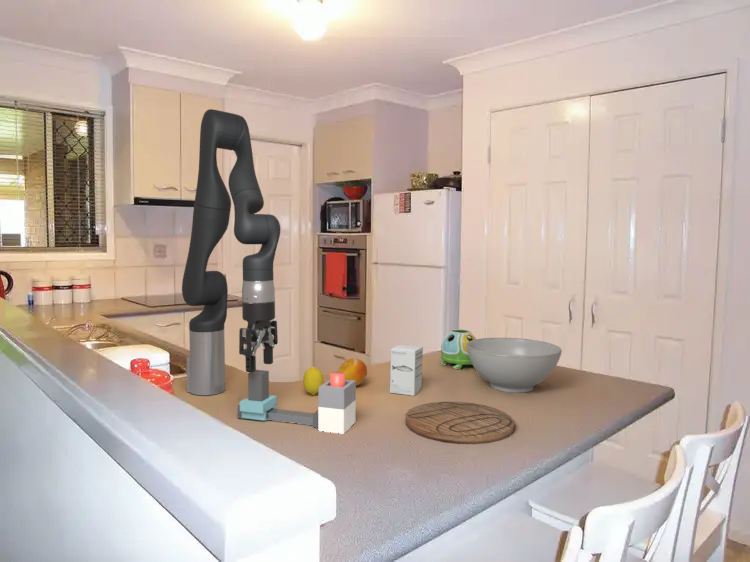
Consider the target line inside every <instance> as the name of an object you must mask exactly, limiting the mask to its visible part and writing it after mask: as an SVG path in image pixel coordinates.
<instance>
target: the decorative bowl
mask: <svg viewBox="0 0 750 562" xmlns="http://www.w3.org/2000/svg"><path fill="white" fill-rule="evenodd" d="M466 348H467V352H468V355H469V358H470V360H471V362H472V364H473V365H472V366H473V368H474V369H475V371H476V372H477V373H478V374H479V376H480V377H482V378H483V379H484V380H486V381H487V382H488V383H489V386H490V387H491V388H492V389H494V390H496V391H500V392H506V393H512V394H515V393H516V394H517V393H519V394H522V393H529V392H532V391H533V390H534V387H535V386H537V385H539V384H541V383H542V382H544V381H546V379H547V378H548V377H549V376H550V375H552V373H553V372H554V370H555V369H556V368H557V365H558V363H559V361H560V358H561V356H562V352H563V350H562V348H561V347H560V346H558V345H556V344H553V343H550V342H545V341H541V340H538V339H528V338H517V337H486V338H476V340H472V341H469V342H468V343H467V344H466Z"/></svg>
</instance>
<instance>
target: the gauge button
mask: <svg viewBox="0 0 750 562" xmlns="http://www.w3.org/2000/svg"><path fill="white" fill-rule="evenodd" d="M329 380H330V386H338V387H344V386H345V373H343V372H338V371H333V372H330V373H329Z"/></svg>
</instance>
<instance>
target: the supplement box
mask: <svg viewBox="0 0 750 562" xmlns="http://www.w3.org/2000/svg"><path fill="white" fill-rule="evenodd" d="M423 353H424V346H417V345H410V344H409V345H408V344H397V345H395V346H393V347H392V348H391V349H390V374H389V375H390V376H389V377H390V378H389V379H390V381H389V393H390V394H397V395H405V396H412V397H415V396H416V395H417V394H418V393H420V391H422V386H423V385H422V382H423V379H422V378H423V357H424V356H423Z"/></svg>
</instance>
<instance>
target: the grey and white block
mask: <svg viewBox="0 0 750 562" xmlns="http://www.w3.org/2000/svg"><path fill="white" fill-rule="evenodd" d="M356 390H357V386H356V381H355V380H345V386H344V387H338V386H330V379H328V380H327V381H324V382H323V384H322V385H321V386H319V392H318V408H317V410H318V428H317V430H319V431H318V432H322V431H324V433H330V432H331V433H330V434H338V433H339V434H340V435H345V433H346V432H348V430H349V429H351V428H352V427H353V426H354V425H355V424H356V423H355V422H356V421H357V420H356V419H357V418H356V410H357V409H356V408H357V407H356V403H357V401H356V400H357V398H356V394H357V393H356ZM354 423H355V424H354ZM353 424H354V425H353ZM352 425H353V426H352ZM351 426H352V427H351Z"/></svg>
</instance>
